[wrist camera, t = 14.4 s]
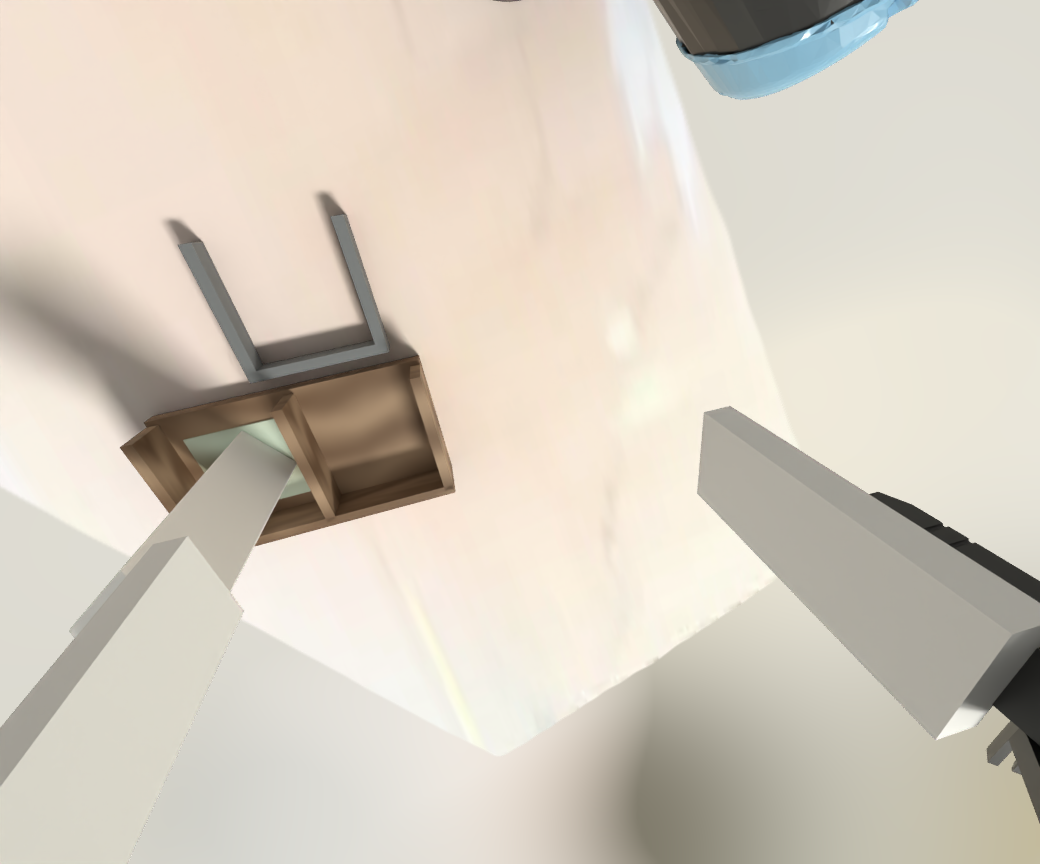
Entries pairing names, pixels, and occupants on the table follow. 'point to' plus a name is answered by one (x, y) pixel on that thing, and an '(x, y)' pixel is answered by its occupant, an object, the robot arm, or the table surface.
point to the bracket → (239, 335)
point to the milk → (219, 513)
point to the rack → (313, 445)
